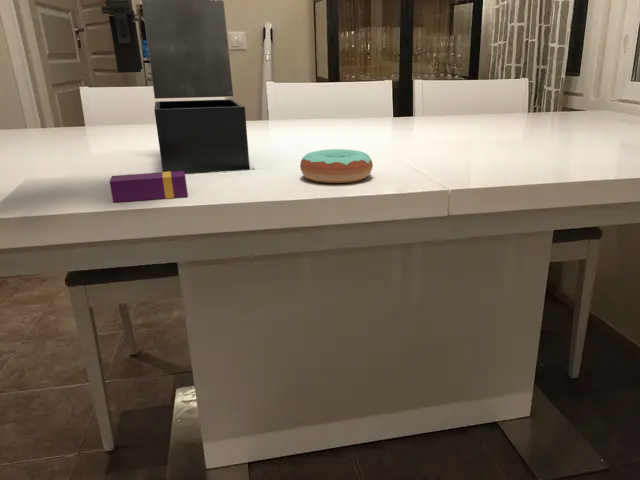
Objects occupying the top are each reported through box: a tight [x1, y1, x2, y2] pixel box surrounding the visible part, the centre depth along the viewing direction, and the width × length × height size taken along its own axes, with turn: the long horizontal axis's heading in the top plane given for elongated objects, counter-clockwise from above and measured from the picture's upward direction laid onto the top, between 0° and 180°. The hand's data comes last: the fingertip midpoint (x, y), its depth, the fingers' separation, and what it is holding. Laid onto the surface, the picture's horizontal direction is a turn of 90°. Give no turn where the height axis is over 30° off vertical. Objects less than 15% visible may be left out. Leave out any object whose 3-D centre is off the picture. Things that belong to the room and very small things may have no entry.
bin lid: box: [141, 0, 234, 100], centre depth 108 cm, size 18×15×6 cm
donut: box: [299, 148, 374, 184], centre depth 92 cm, size 12×12×4 cm
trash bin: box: [153, 98, 251, 175], centre depth 102 cm, size 17×15×11 cm
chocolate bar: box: [109, 171, 189, 204], centre depth 80 cm, size 10×4×3 cm, turn 109°
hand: (131, 71), depth 77 cm, fingers open, 13 cm apart
